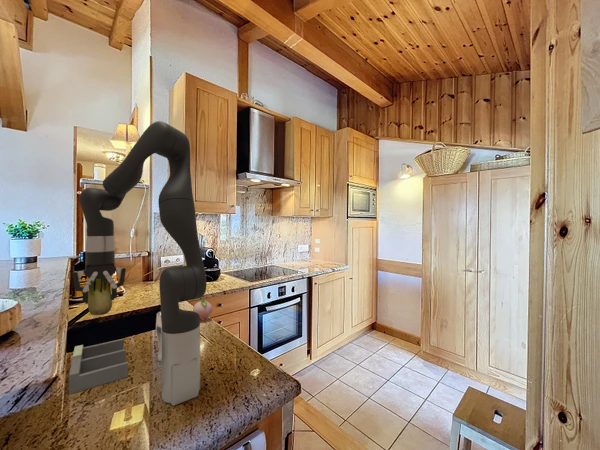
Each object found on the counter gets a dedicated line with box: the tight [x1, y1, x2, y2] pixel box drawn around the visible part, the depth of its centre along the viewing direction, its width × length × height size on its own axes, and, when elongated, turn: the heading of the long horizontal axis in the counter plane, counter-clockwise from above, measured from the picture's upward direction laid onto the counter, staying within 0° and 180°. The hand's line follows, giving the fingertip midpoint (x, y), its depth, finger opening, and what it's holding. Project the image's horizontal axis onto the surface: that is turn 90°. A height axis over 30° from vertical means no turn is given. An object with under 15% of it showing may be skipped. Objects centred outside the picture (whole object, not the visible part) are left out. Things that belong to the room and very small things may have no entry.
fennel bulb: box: [87, 278, 113, 316], centre depth 83 cm, size 6×5×12 cm
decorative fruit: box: [192, 298, 213, 321], centre depth 121 cm, size 9×8×10 cm
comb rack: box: [68, 338, 129, 395], centre depth 80 cm, size 21×13×5 cm, turn 38°
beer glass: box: [155, 311, 162, 362], centre depth 87 cm, size 7×7×15 cm
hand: (100, 301), depth 84 cm, fingers closed on fennel bulb, 6 cm apart
